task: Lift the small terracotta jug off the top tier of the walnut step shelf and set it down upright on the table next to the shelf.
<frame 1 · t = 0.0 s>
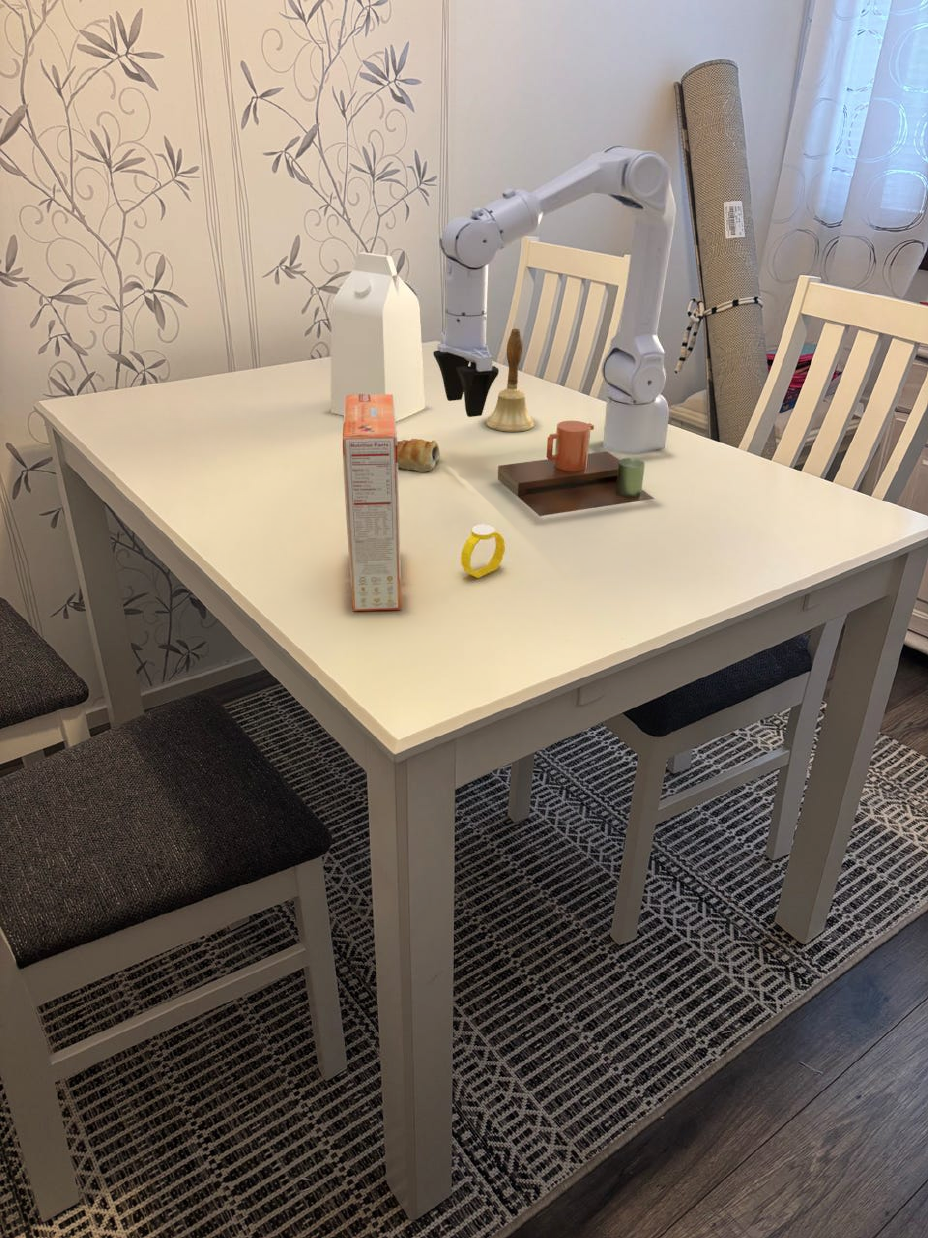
hand: (464, 407, 141), 10 cm above the table, tool pointing down, fingers open, 7 cm apart
cracker box: (375, 584, 115), on the table
hand bell: (509, 425, 166), on the table
watch: (482, 574, 118), on the table
tin: (628, 492, 138), point 1 cm above the table, touching step shelf
milk: (378, 411, 170), on the table
pastry: (411, 465, 149), on the table
jug: (570, 465, 141), point 3 cm above the table, touching step shelf
step shelf: (574, 494, 140), on the table
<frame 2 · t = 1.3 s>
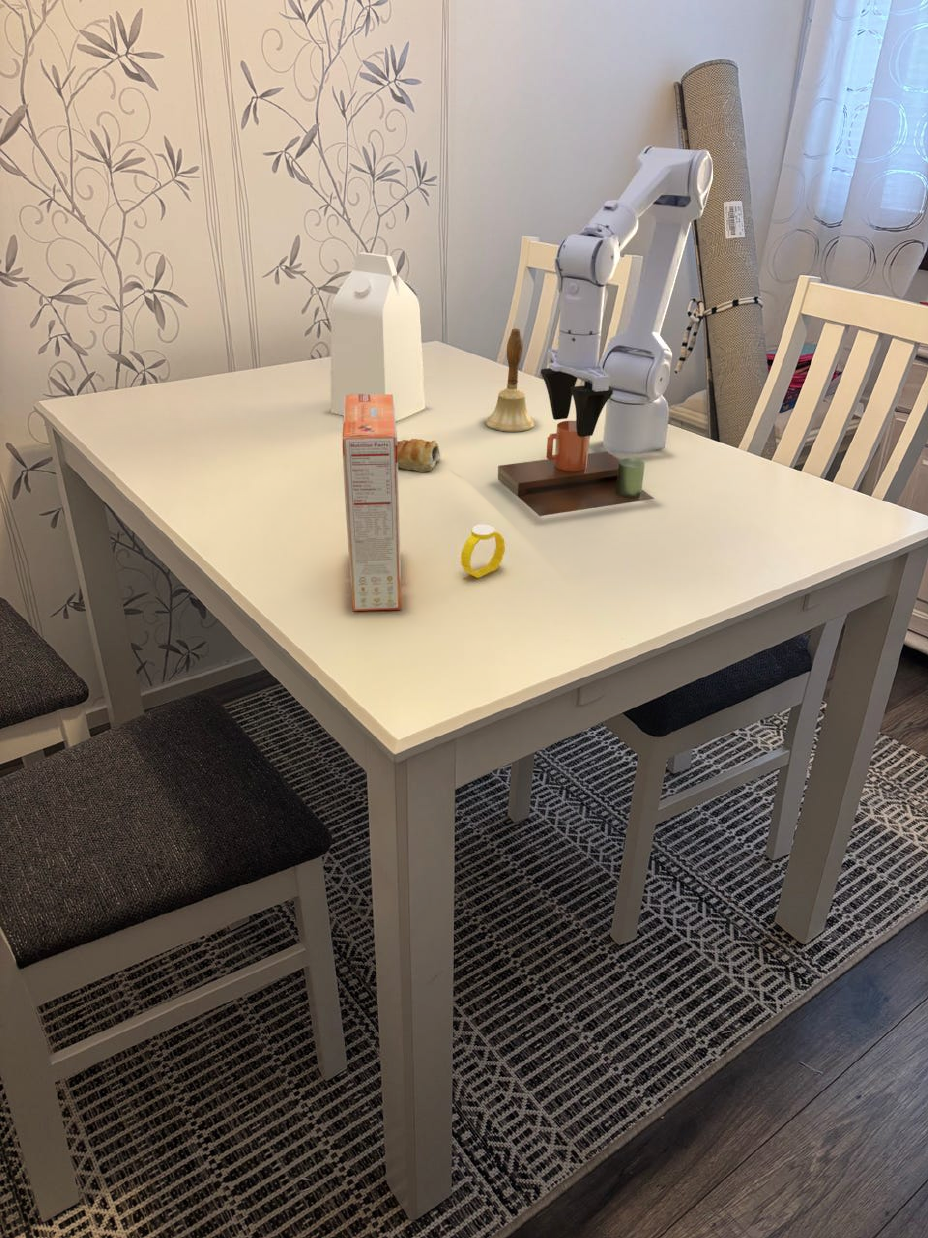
hand: (572, 426, 138), 9 cm above the table, tool pointing down, fingers open, 7 cm apart
nothing on the table moved.
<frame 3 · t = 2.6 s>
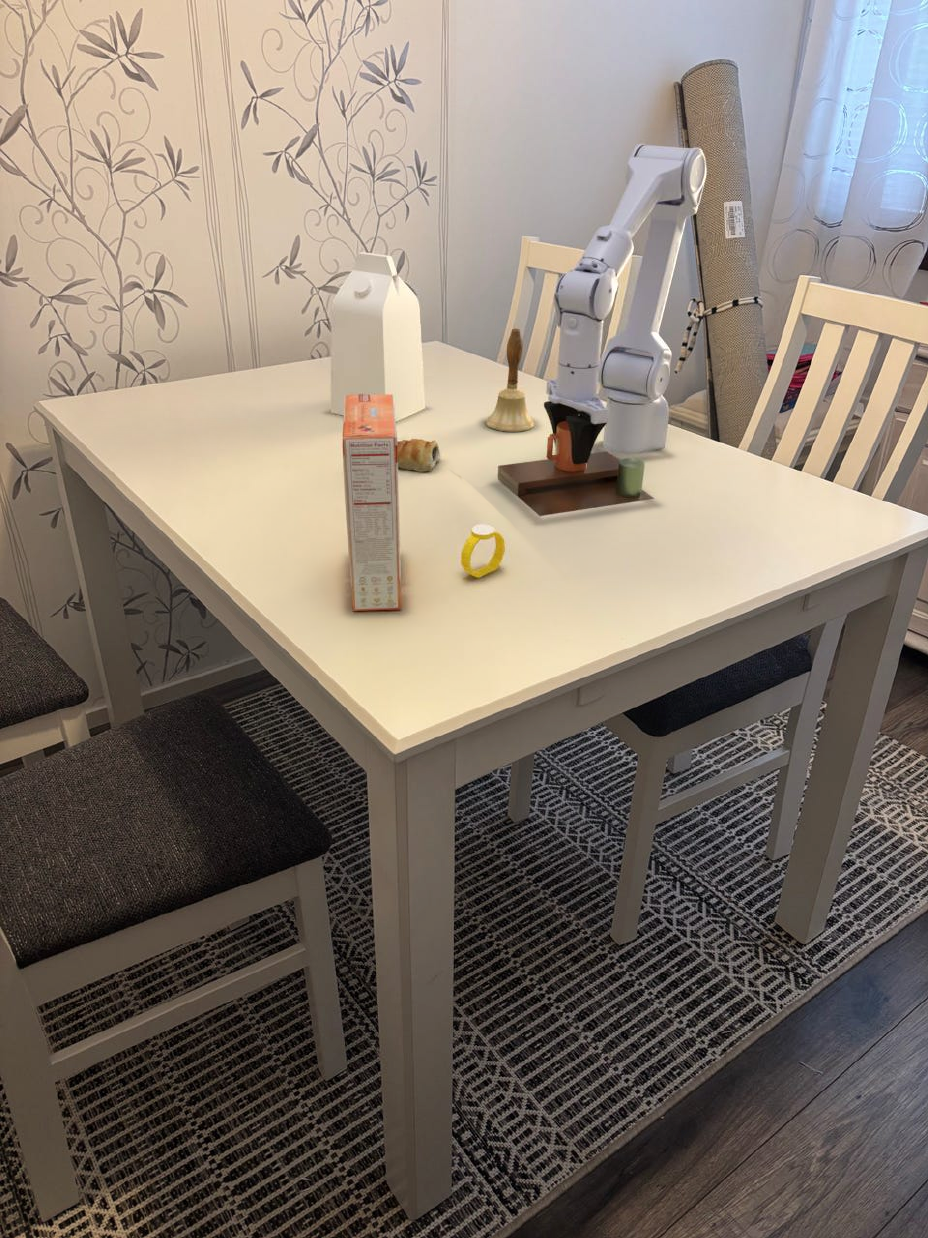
hand: (571, 456, 140), 4 cm above the table, tool pointing down, fingers closed on jug, 5 cm apart
jug: (570, 465, 141), point 3 cm above the table, touching gripper, step shelf
everything else where it was.
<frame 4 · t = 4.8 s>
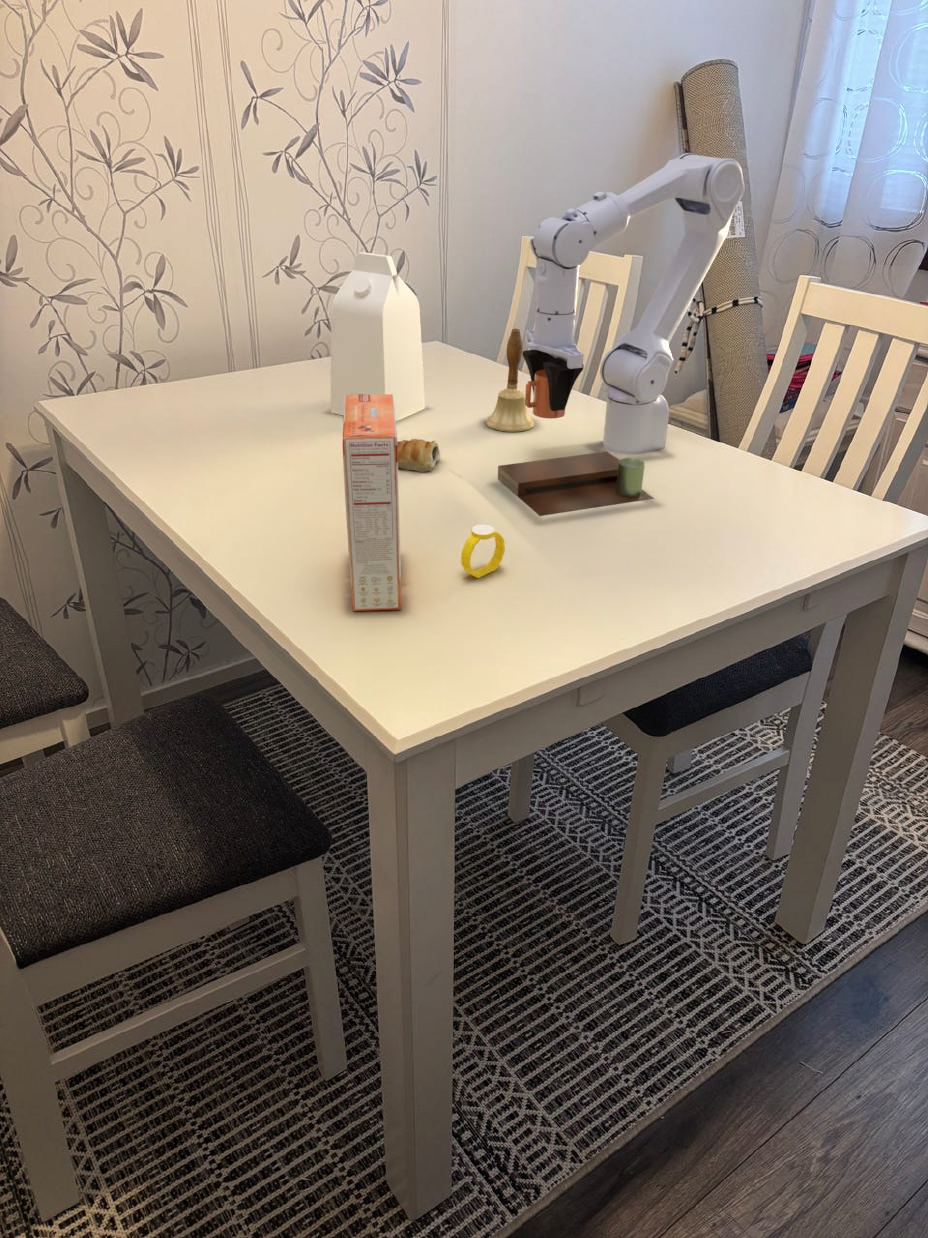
hand: (549, 404, 144), 10 cm above the table, tool pointing down, fingers closed on jug, 5 cm apart
jug: (548, 413, 145), point 8 cm above the table, touching gripper
everything else where it was.
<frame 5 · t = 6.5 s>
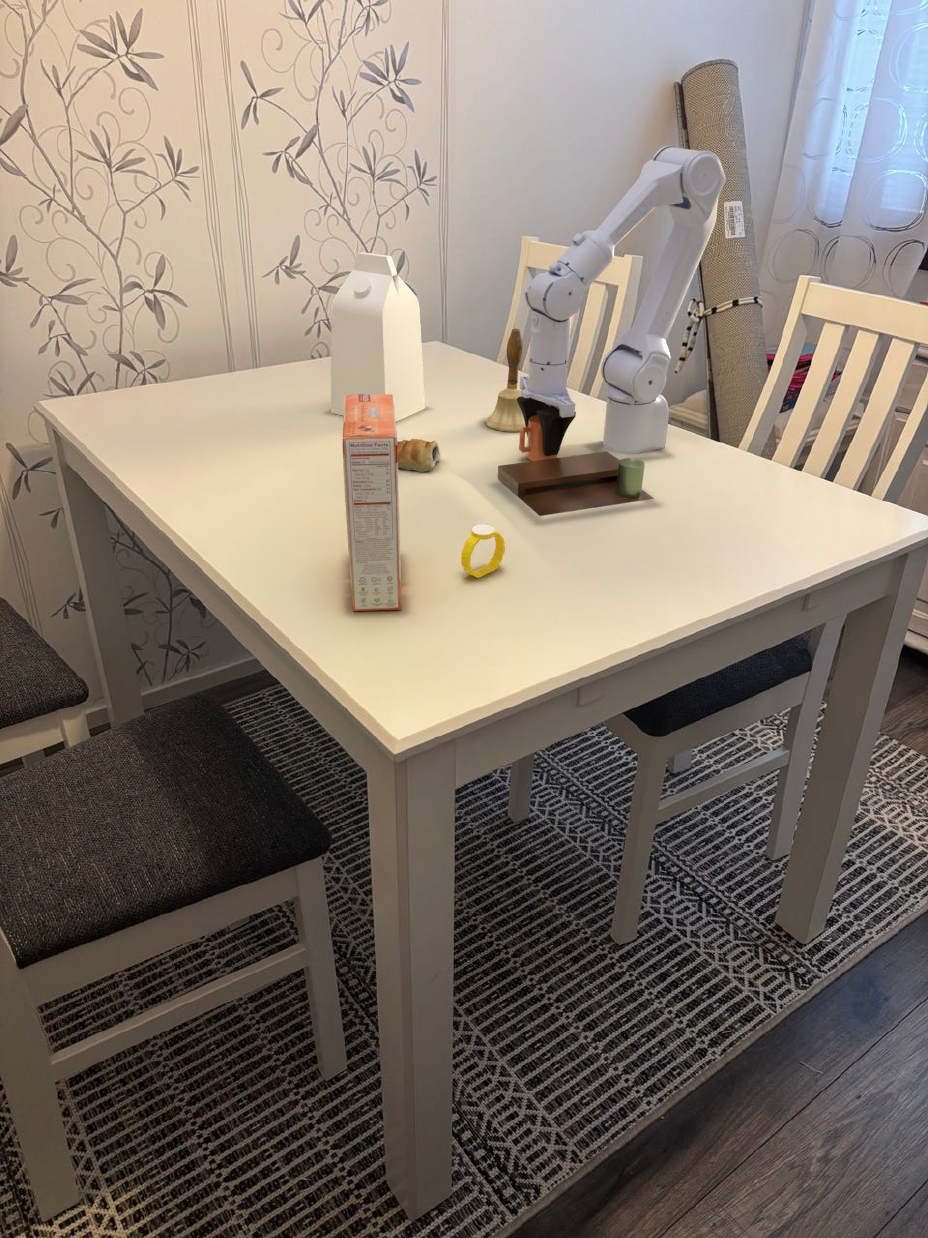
hand: (542, 448, 149), 2 cm above the table, tool pointing down, fingers closed on jug, 5 cm apart
jug: (542, 457, 149), point 1 cm above the table, touching gripper
everything else where it was.
when the fingers open (1 cm above the table, at t = 7.3 s): jug stays where it is, on the table.
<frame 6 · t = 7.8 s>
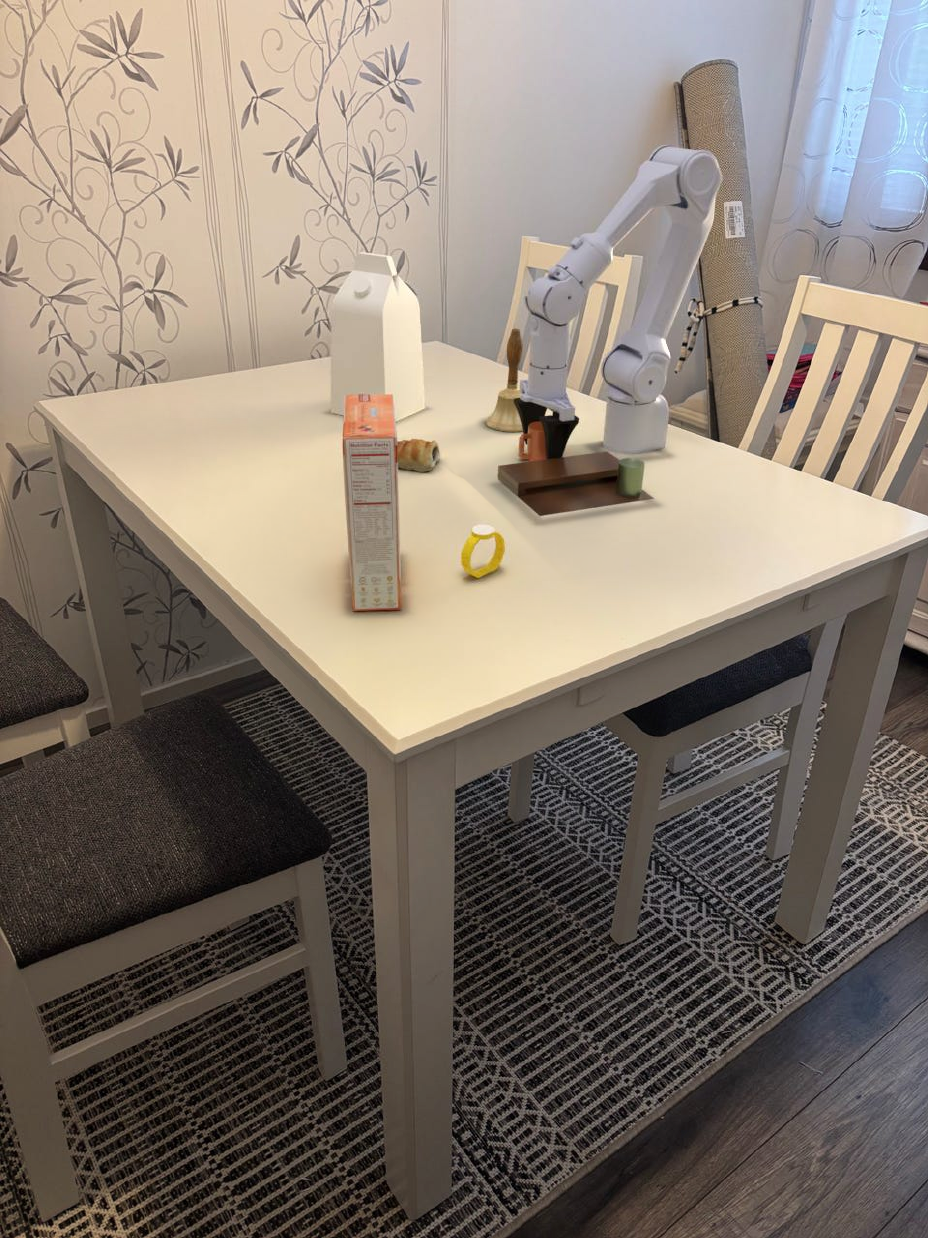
hand: (542, 452, 149), 2 cm above the table, tool pointing down, fingers open, 7 cm apart
jug: (541, 463, 150), on the table
everything else where it was.
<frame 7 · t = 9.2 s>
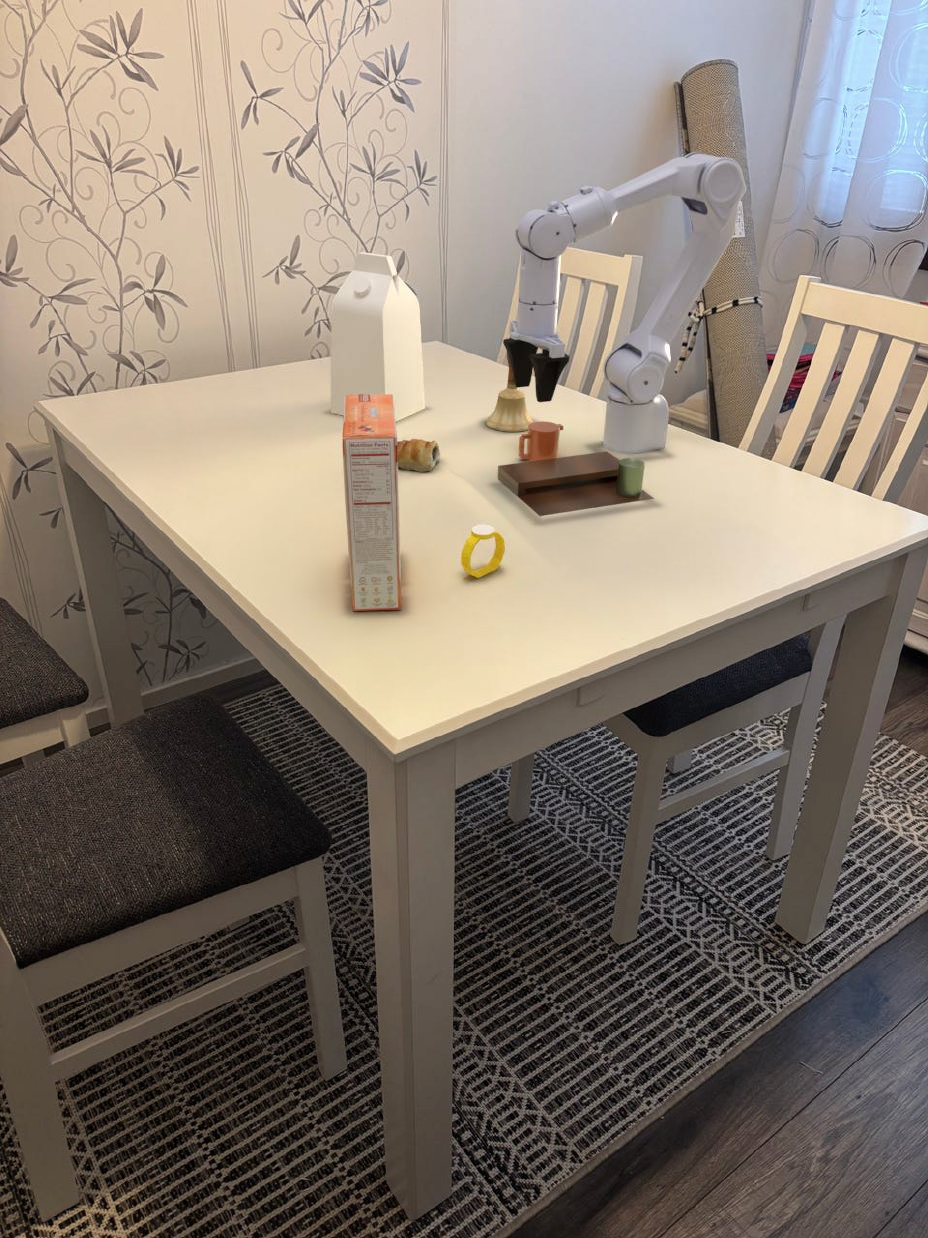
hand: (532, 393, 146), 10 cm above the table, tool pointing down, fingers open, 7 cm apart
nothing on the table moved.
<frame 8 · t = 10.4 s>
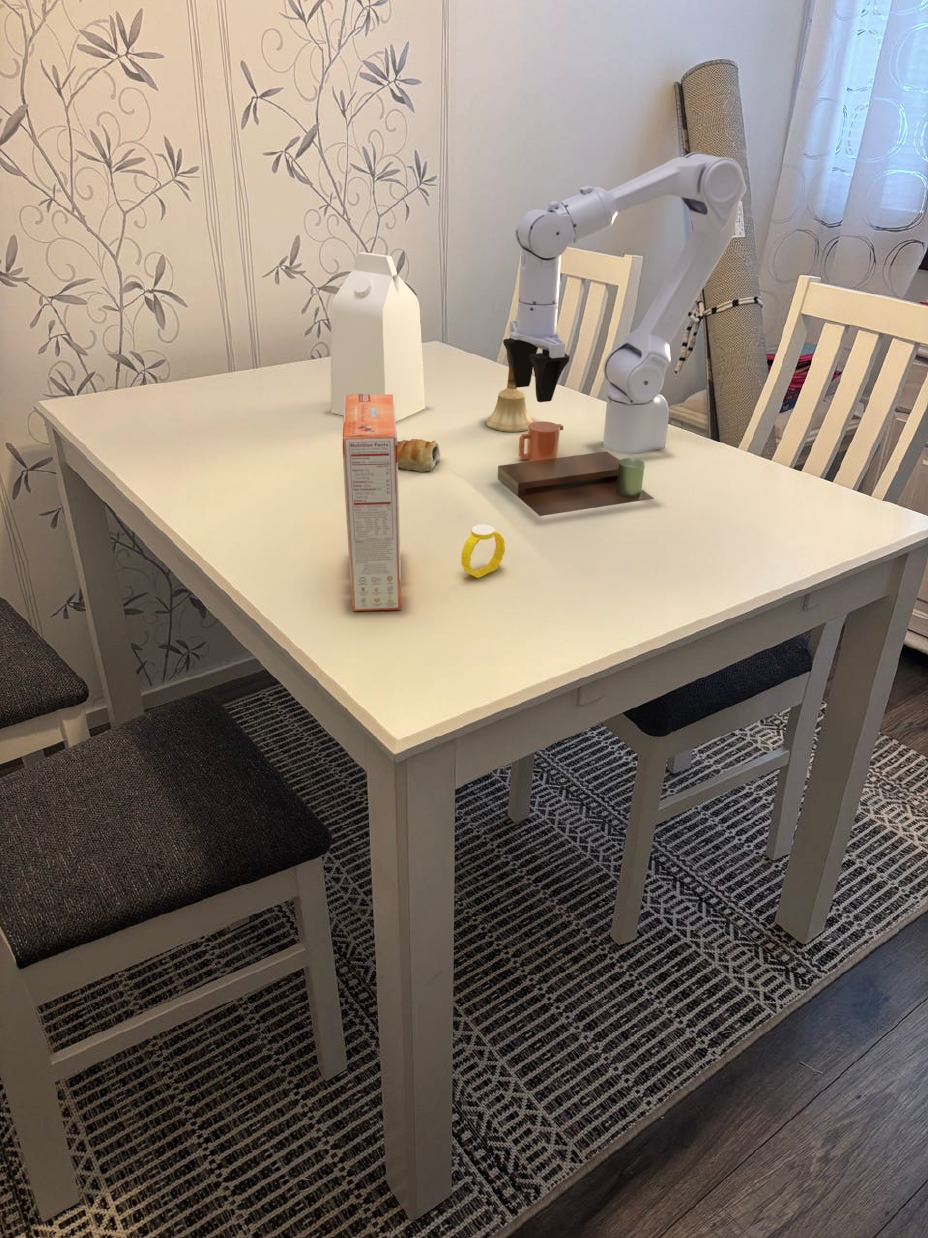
hand: (532, 393, 146), 10 cm above the table, tool pointing down, fingers open, 7 cm apart
nothing on the table moved.
at the end: jug inside the target area (0.1 cm from its centre), on the table; jug tilted 0°; the gripper is holding nothing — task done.
